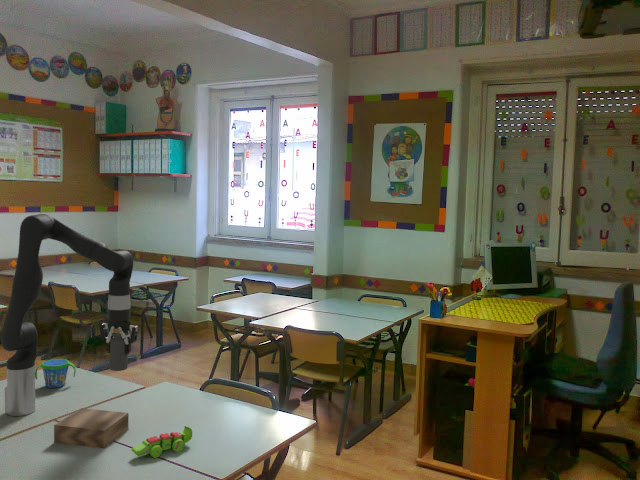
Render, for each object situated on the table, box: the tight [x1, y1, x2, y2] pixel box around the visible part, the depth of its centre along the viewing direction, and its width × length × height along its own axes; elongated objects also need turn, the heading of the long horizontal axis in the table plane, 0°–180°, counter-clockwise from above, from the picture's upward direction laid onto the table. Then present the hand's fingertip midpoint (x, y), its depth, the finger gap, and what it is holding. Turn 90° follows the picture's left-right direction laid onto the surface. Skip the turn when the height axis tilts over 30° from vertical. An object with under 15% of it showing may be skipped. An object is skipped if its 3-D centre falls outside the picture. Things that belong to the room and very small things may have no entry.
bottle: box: [109, 328, 129, 372], centre depth 196 cm, size 6×6×15 cm
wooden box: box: [53, 407, 129, 449], centre depth 186 cm, size 18×15×6 cm
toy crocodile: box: [131, 425, 193, 459], centre depth 177 cm, size 20×7×6 cm, turn 128°
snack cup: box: [35, 358, 77, 389], centre depth 233 cm, size 16×10×10 cm
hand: (118, 353), depth 196 cm, fingers closed on bottle, 6 cm apart
